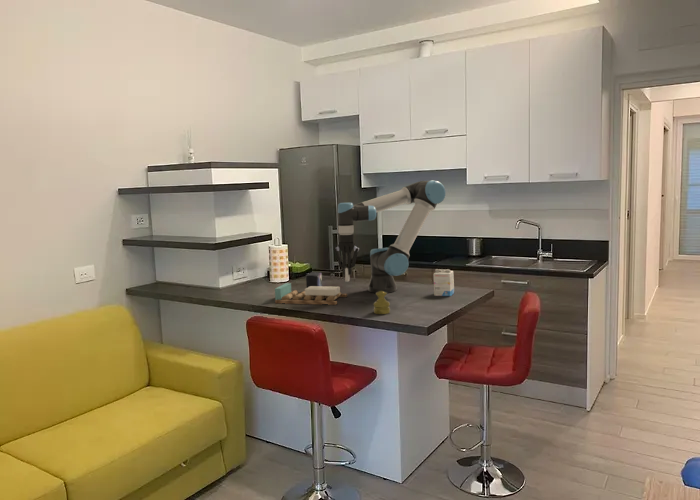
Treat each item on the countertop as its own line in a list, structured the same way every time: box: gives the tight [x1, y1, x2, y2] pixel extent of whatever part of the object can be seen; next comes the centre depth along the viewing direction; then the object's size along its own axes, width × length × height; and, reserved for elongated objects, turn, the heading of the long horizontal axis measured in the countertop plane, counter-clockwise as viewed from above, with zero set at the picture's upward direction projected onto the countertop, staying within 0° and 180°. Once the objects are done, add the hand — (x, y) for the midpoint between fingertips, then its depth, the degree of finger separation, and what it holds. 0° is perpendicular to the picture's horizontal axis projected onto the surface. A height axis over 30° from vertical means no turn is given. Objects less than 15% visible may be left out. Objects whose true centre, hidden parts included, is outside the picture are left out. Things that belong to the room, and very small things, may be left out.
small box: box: [305, 271, 323, 288], centre depth 301 cm, size 11×6×10 cm, turn 168°
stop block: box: [274, 282, 292, 300], centre depth 287 cm, size 3×14×7 cm, turn 163°
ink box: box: [432, 268, 455, 297], centre depth 282 cm, size 9×8×13 cm
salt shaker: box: [372, 291, 391, 315], centre depth 250 cm, size 7×7×10 cm
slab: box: [304, 285, 341, 296], centre depth 281 cm, size 16×8×3 cm, turn 73°
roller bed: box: [274, 289, 348, 306], centre depth 283 cm, size 32×19×3 cm, turn 73°
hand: (347, 281), depth 276 cm, fingers closed
